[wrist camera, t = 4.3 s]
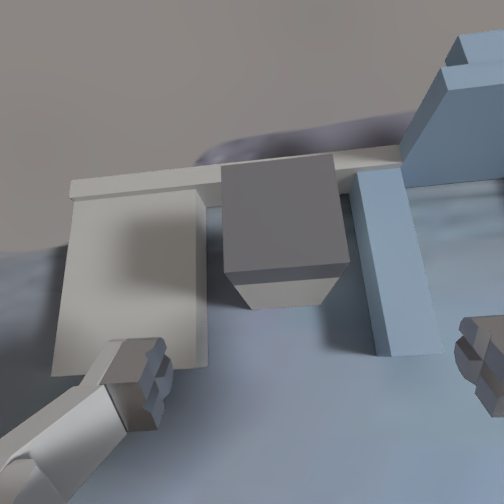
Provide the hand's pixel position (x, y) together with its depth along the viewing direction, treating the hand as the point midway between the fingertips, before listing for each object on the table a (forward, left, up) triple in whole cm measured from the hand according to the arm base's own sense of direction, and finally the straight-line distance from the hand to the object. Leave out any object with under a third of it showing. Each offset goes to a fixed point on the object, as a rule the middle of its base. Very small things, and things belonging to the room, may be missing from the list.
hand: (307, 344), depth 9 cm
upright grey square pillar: (0, +4, -9) cm, 10 cm away
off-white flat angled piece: (-3, +5, -9) cm, 11 cm away
